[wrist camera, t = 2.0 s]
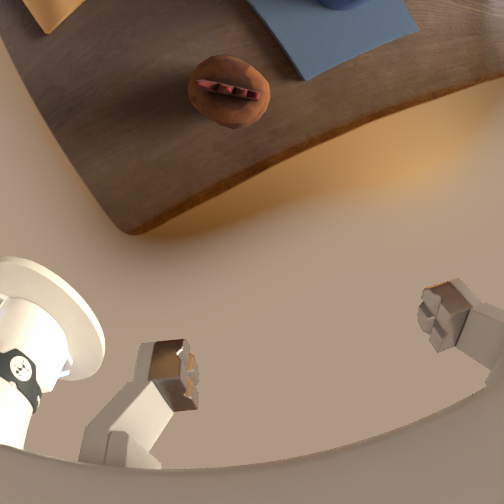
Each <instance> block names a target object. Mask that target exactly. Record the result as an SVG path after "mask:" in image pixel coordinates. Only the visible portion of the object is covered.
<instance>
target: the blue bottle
mask: <svg viewBox="0 0 504 504" xmlns="http://www.w3.org/2000/svg"><path fill="white" fill-rule="evenodd" d="M317 1H318V2H319V3H320V4H322V5H324V6H325V7H328V8H330V9H333V10H337V11H350V10H353V9H355V8H357V7H359V6H361V5H363V4H366V3H368V2H370V1H372V0H317Z"/></svg>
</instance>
